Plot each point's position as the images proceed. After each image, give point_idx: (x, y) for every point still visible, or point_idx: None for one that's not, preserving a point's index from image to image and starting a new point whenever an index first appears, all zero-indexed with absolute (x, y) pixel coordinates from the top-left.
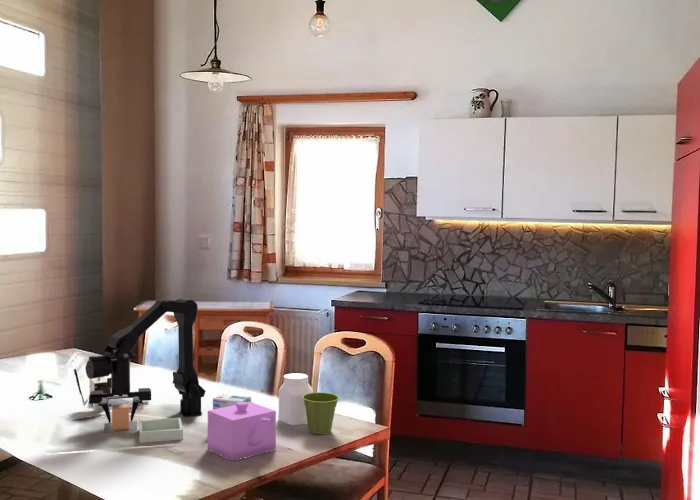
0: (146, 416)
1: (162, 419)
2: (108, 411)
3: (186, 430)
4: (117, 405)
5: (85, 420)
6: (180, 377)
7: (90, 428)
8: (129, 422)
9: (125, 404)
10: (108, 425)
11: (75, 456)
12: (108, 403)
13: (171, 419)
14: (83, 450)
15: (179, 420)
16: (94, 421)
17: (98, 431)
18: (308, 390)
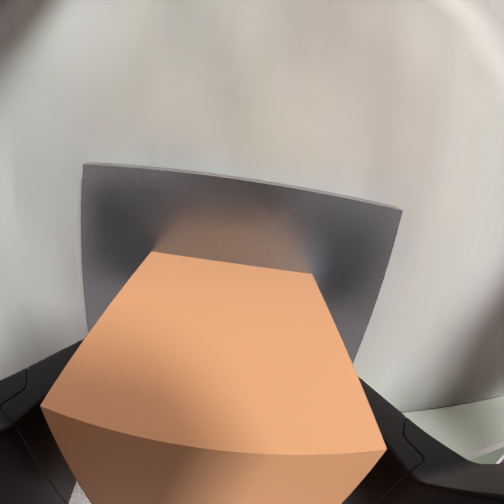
0: (482, 55)
1: (467, 458)
2: (69, 482)
3: None
4: (143, 469)
5: (4, 6)
6: None
7: (6, 222)
8: (328, 226)
9: (314, 466)
10: (114, 254)
11: (74, 499)
12: (7, 498)
13: (495, 448)
14: (79, 485)
15: (497, 462)
16: (40, 30)
17: (62, 318)
18: None
